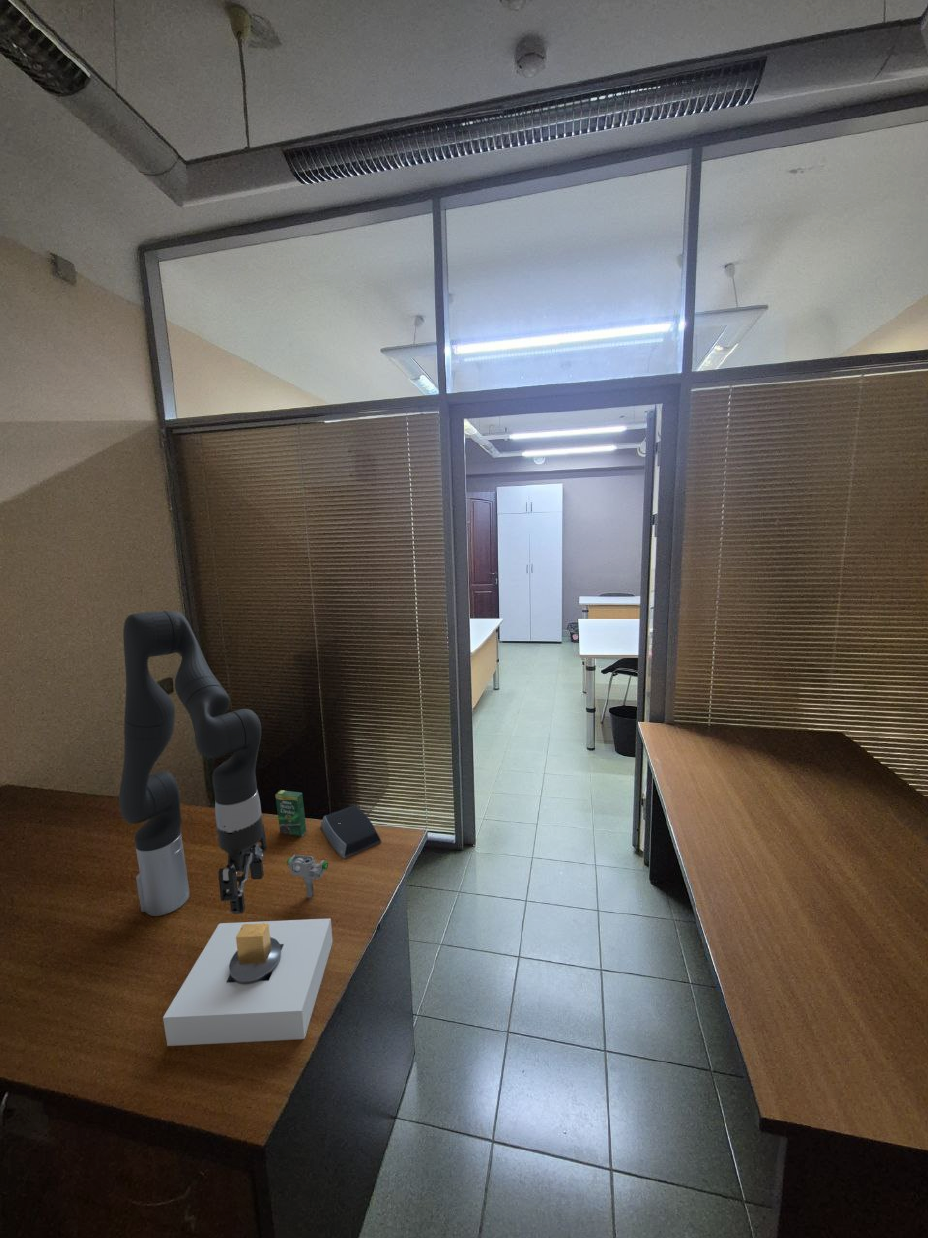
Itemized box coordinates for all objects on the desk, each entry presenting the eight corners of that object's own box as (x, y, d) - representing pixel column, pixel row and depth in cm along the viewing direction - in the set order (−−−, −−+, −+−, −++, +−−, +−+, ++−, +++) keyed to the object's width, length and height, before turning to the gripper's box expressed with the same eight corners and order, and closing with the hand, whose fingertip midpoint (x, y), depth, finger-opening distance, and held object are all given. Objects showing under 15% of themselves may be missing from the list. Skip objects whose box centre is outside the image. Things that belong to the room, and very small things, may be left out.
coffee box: (278, 833, 140) (274, 793, 138) (284, 827, 143) (280, 788, 141) (301, 837, 138) (297, 797, 136) (306, 832, 141) (303, 792, 138)
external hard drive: (341, 861, 128) (340, 848, 127) (318, 827, 144) (317, 815, 143) (384, 843, 135) (383, 830, 135) (358, 812, 151) (357, 801, 150)
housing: (167, 1046, 81) (162, 1017, 80) (222, 947, 101) (219, 923, 100) (304, 1039, 82) (301, 1010, 81) (332, 942, 102) (330, 918, 101)
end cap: (224, 1008, 87) (216, 952, 85) (245, 964, 96) (239, 912, 94) (273, 1006, 87) (267, 950, 85) (290, 962, 96) (284, 910, 94)
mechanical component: (326, 903, 113) (323, 866, 111) (288, 897, 115) (284, 861, 113) (332, 894, 116) (329, 858, 114) (295, 888, 118) (291, 853, 116)
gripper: (236, 796, 92) (244, 869, 95) (197, 842, 78) (209, 926, 81) (274, 795, 92) (281, 867, 95) (242, 840, 78) (252, 924, 81)
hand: (248, 894), depth 88 cm, fingers open, 8 cm apart
